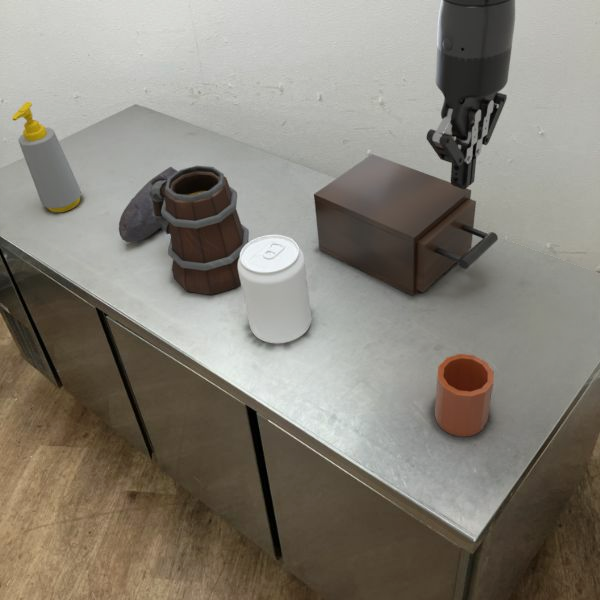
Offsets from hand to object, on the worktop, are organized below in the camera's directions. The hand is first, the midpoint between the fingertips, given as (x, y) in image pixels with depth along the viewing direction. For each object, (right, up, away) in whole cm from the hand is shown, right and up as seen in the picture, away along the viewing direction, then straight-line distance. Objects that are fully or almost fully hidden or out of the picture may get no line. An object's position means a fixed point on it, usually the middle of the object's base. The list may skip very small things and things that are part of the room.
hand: (462, 184), depth 78 cm
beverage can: (-22, -17, +7) cm, 29 cm away
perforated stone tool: (-42, -2, +27) cm, 50 cm away
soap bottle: (-60, +3, +34) cm, 69 cm away
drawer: (-3, -8, +13) cm, 15 cm away
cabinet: (-6, -7, +16) cm, 18 cm away
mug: (-34, -9, +18) cm, 39 cm away
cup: (-2, -27, -7) cm, 28 cm away
